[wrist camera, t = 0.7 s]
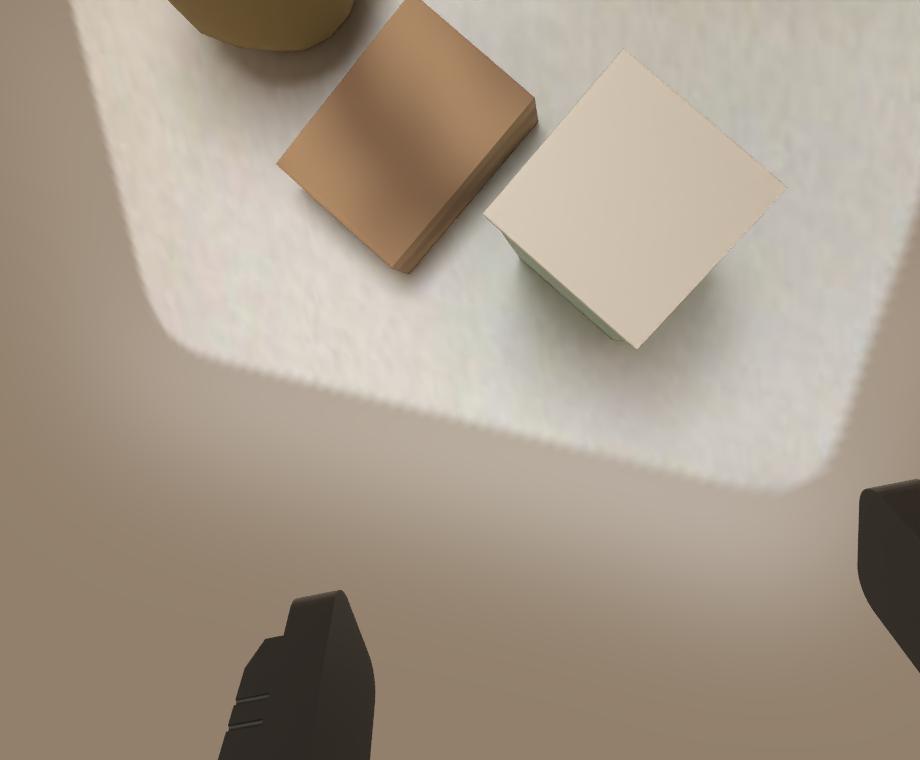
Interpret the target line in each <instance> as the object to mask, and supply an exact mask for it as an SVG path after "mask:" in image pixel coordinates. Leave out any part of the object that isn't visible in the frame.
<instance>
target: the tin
mask: <svg viewBox="0 0 920 760" xmlns="http://www.w3.org/2000/svg"><path fill="white" fill-rule="evenodd" d="M786 189H787V186H785V185H784V184H783V183H782V182H781V181H780V180H778V179H777V178H776V177H775V176H774V175H772V174H771V173H770V172H769V171H768V170H767V169H765V168H764V167H763V166H762V165H761V164H759V163H758V162H757V161H756V160H755V159H753V158H752V157H751V156H750V155H749V154H748V153H746V152H745V151H744V150H743V149H742V148H740V147H739V146H738V145H737V144H736V143H735V142H733V141H732V140H731V139H730V138H729V137H727V136H726V135H725V134H724V133H723V132H722V131H720V130H719V129H718V128H717V127H716V126H714V125H713V124H712V123H711V122H710V121H709V120H707V119H706V118H705V117H704V116H703V115H701V114H700V113H699V112H698V111H697V110H696V109H694V108H693V107H692V106H691V105H690V104H688V103H687V102H686V101H685V100H684V99H683V98H681V97H680V96H679V95H678V94H677V93H675V92H674V91H673V90H672V89H671V88H669V87H668V86H667V85H666V84H665V83H664V82H662V81H661V80H660V79H659V78H658V77H656V76H655V75H654V74H653V73H652V72H651V71H649V70H648V69H647V68H646V67H645V66H643V65H642V64H641V63H640V62H639V61H638V60H636V59H635V58H634V57H633V56H632V55H630V54H629V53H628V52H627V51H626V50H625V49H623V50H622V51H621V52H620V53H619V55H618V56H617V57H616V58H615V59H614V60H613V62H612V63H611V64H610V65H609V66H608V67H607V69H606V70H605V71H604V72H603V73H602V74H601V76H600V77H599V78H598V79H597V80H596V81H595V83H594V84H593V85H592V86H591V87H590V89H589V90H588V91H587V92H586V93H585V94H584V96H583V97H582V98H581V99H580V100H579V101H578V103H577V104H576V105H575V106H574V107H573V108H572V110H571V111H570V112H569V113H568V114H567V116H566V117H565V118H564V119H563V120H562V121H561V123H560V124H559V125H558V126H557V127H556V128H555V130H554V131H553V132H552V133H551V134H550V135H549V137H548V138H547V139H546V140H545V141H544V143H543V144H542V145H541V146H540V147H539V148H538V150H537V151H536V152H535V153H534V154H533V155H532V157H531V158H530V159H529V160H528V161H527V162H526V164H525V165H524V166H523V167H522V168H521V169H520V171H519V172H518V173H517V174H516V175H515V177H514V178H513V179H512V180H511V181H510V182H509V184H508V185H507V186H506V187H505V188H504V189H503V191H502V192H501V193H500V194H499V195H498V196H497V198H496V199H495V200H494V201H493V202H492V204H491V205H490V206H489V207H488V208H487V209H486V211H485V212H484V213H483V214H484V216H485V217H486V218H487V219H488V220H489V221H490V222H491V223H492V224H493V225H495V226H496V227H497V228H498V229H499V230H500V231H501V232H502V233H503V235H504V236H505V238H506V239H507V240H508V242H509V243H510V245H511V246H512V248H513V249H514V251H515V252H516V253H517V255H518V256H519V257H520V258H521V259H522V260H523V261H524V262H525V263H526V264H528V265H529V266H530V267H531V268H532V269H533V270H534V271H535V272H537V273H538V274H539V275H540V276H541V277H542V278H543V279H545V280H546V281H547V282H548V283H549V284H550V285H551V286H552V287H554V288H555V289H556V290H557V291H558V292H559V293H560V294H562V295H563V296H564V297H565V298H566V299H567V300H568V301H569V302H571V303H572V304H573V305H574V306H575V307H576V308H577V309H579V310H580V311H581V312H582V313H583V314H584V315H585V316H586V317H588V318H589V319H590V320H591V321H592V322H593V323H594V324H596V325H597V326H598V327H599V328H600V329H601V330H602V331H603V332H605V333H606V334H607V335H608V336H609V337H610V338H611V339H615V340H620V341H625V342H627V343H629V344H630V345H631V346H632V347H633V348H634V349H638V348H639V347H640V346H641V345H642V344H643V343H644V342H645V341H646V340H647V338H648V337H649V336H650V335H651V334H652V333H653V332H654V331H655V330H656V329H657V328H658V327H659V326H660V324H661V323H662V322H663V321H664V320H665V319H666V318H667V317H668V316H669V315H670V314H671V313H672V312H673V310H674V309H675V308H676V307H677V306H678V305H679V304H680V303H681V302H682V301H683V300H684V299H685V297H686V296H687V295H688V294H689V293H690V292H691V291H692V290H693V289H694V288H695V287H696V286H697V285H698V283H699V282H700V281H701V280H702V279H703V278H704V277H705V276H706V275H707V274H708V273H709V272H710V271H711V269H712V268H713V267H714V266H715V265H716V264H717V263H718V262H719V261H720V260H721V259H722V258H723V256H724V255H725V254H726V253H727V252H728V251H729V250H730V249H731V248H732V247H733V246H734V245H735V244H736V242H737V241H738V240H739V239H740V238H741V237H742V236H743V235H744V234H745V233H746V232H747V231H748V230H749V228H750V227H751V226H752V225H753V224H754V223H755V222H756V221H757V220H758V219H759V218H760V217H761V215H762V214H763V213H764V212H765V211H766V210H767V209H768V208H769V207H770V206H771V205H772V204H773V203H774V201H775V200H776V199H777V198H778V197H779V196H780V195H781V194H782V193H783V192H784V191H785V190H786Z"/></svg>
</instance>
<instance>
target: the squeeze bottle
mask: <svg viewBox="0 0 920 760" xmlns="http://www.w3.org/2000/svg"><path fill="white" fill-rule="evenodd" d="M168 1H169V2H170V3H171V4H172V5H173V6H174V7H175V8H176V9H177V10H178V11H179V12H180V13H181V14H182V15H183V16H184V17H185V18H186V19H187V20H188V21H189V22H190V23H191V24H192V25H193V26H194V27H195V28H196V29H197V30H199V31H200V32H201V33H202V34H205V35H207V36H210V37H213V38H216V39H218V40H221V41H224V42H226V43H229V44H232V45H234V46H237V47H242V48H251V49H260V50H269V51H278V52H283V51H297V50H307V49H309V48H311V47H312V46H314V45H316V44H318V43H320V42H322V41H324V40H326V39H328V38H330V37H331V36H332V35H333V34H334V32H335V31H336V30H337V29H338V28H339V27H340V25H341V24H342V23H343V22H344V21H345V19H346V18H347V17H348V16H349V14H350V12H351V9H352V6H353V3H354V0H168Z"/></svg>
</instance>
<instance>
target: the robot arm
mask: <svg viewBox="0 0 920 760" xmlns="http://www.w3.org/2000/svg"><path fill="white" fill-rule="evenodd" d="M857 565H858V575H859V580H860V584H861V587H862V590H863V592H864V595H865V597H866V599H867V601H868V603H869V605H870V606H871V608H872V609H873V611H874V612H875V613H876V615H877V616H878V618H879V619H880V620H881V621H882V623H883V624H884V626H885V627H886V628H887V630H888V631H889V632H890V634H891V635H892V636H893V637H894V639H895V640H896V642H897V643H898V644H899V646H900V647H901V648H902V650H903V651H904V652H905V654H906V655H907V656H908V658H909V659H910V660H911V662H912V663H913V664H914V666H915V667H916V668H917V670H918V671H919V672H920V480H919V479H914V480H909V481H904V482H899V483H894V484H889V485H883V486H878V487H873V488H868V489H865V490H863V491H862V493H861V496H860V501H859V531H858V564H857ZM374 706H375V681H374V673H373V668H372V663H371V660H370V656H369V654H368V651H367V648H366V646H365V643H364V641H363V638H362V635H361V633H360V630H359V628H358V625H357V622H356V620H355V617H354V614H353V612H352V609H351V607H350V604H349V602H348V599H347V597H346V595H345V593H344V592H343V591H342V590H337V591H332V592H327V593H322V594H317V595H312V596H307V597H302V598H297V599H295V600H294V601H293V602H292V605H291V607H290V612H289V615H288V620H287V624H286V628H285V632H284V636H278V637H273V638H268V639H265V640H264V642H263V643H262V645H261V646H260V647H259V649H258V650H257V652H256V653H255V654H254V656H253V657H252V659H251V660H250V662H249V663H248V665H247V666H246V667H245V669H244V673H243V676H242V679H241V683H240V686H239V690H238V693H237V696H236V705H234V707H233V710H232V714H231V717H230V720H229V724H228V726H229V731H228V732H226V734H225V737H224V741H223V744H222V748H221V751H220V755H219V758H218V760H370V751H371V741H372V729H373V718H374Z"/></svg>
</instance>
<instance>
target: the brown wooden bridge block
mask: <svg viewBox="0 0 920 760" xmlns="http://www.w3.org/2000/svg"><path fill="white" fill-rule="evenodd" d="M537 122H538V117H537V110H536V104H535V98H534V97H533V96H532V95H531V94H530V93H529V92H527V91H526V90H525V89H524V88H523V87H522V86H520V85H519V84H518V83H517V82H516V81H515V80H513V79H512V78H511V77H510V76H509V75H508V74H506V73H505V72H504V71H503V70H502V69H501V68H500V67H498V66H497V65H496V64H495V63H494V62H493V61H491V60H490V59H489V58H488V57H487V56H486V55H484V54H483V53H482V52H481V51H480V50H479V49H477V48H476V47H475V46H474V45H473V44H472V43H470V42H469V41H468V40H467V39H466V38H465V37H464V36H462V35H461V34H460V33H459V32H458V31H457V30H455V29H454V28H453V27H452V26H451V25H450V24H448V23H447V22H446V21H445V20H444V19H443V18H441V17H440V16H439V15H438V14H437V13H436V12H434V11H433V10H432V9H431V8H430V7H429V6H427V5H426V4H425V3H424V2H423V1H422V0H405V1H404V2H403V3H402V5H401V6H400V7H399V8H398V10H397V11H396V12H395V13H394V15H393V16H392V17H391V18H390V20H389V21H388V22H387V24H386V25H385V26H384V27H383V29H382V30H381V31H380V32H379V34H378V35H377V36H376V38H375V39H374V40H373V41H372V43H371V44H370V45H369V46H368V48H367V49H366V50H365V52H364V53H363V54H362V55H361V57H360V58H359V59H358V60H357V62H356V63H355V64H354V66H353V67H352V68H351V69H350V71H349V72H348V73H347V74H346V76H345V77H344V78H343V79H342V81H341V82H340V83H339V85H338V86H337V87H336V88H335V90H334V91H333V92H332V93H331V95H330V96H329V97H328V99H327V100H326V101H325V102H324V104H323V105H322V106H321V107H320V109H319V110H318V111H317V113H316V114H315V115H314V116H313V118H312V119H311V120H310V121H309V123H308V124H307V125H306V127H305V128H304V129H303V130H302V132H301V133H300V134H299V135H298V137H297V138H296V139H295V141H294V142H293V143H292V144H291V146H290V147H289V148H288V149H287V151H286V152H285V153H284V154H283V156H282V157H281V158H280V160H279V161H278V162H277V163H276V165H278V166H279V167H280V168H281V169H282V170H283V171H284V172H285V173H286V174H288V175H289V176H290V177H291V178H292V179H293V180H294V181H295V182H297V183H298V184H299V185H300V186H301V187H302V188H303V189H304V190H305V191H307V192H308V193H309V194H310V195H311V196H312V197H313V198H314V199H315V200H317V201H318V202H319V203H320V204H321V205H322V206H323V207H324V208H325V209H327V210H328V211H329V212H330V213H331V214H332V215H333V216H334V217H336V218H337V219H338V220H339V221H340V222H341V223H342V224H343V225H344V226H346V227H347V228H348V229H349V230H350V231H351V232H352V233H353V234H354V235H356V236H357V237H358V238H359V239H360V240H361V241H362V242H363V243H364V244H366V245H367V246H368V247H369V248H370V249H371V250H372V251H373V252H375V253H376V254H377V255H378V256H379V257H380V258H381V259H382V260H383V261H385V262H386V263H387V264H388V265H389V266H390V267H391V268H394V269H396V270H399V271H402V272H405V273H408V274H409V273H410V272H411V271H412V270H413V269H414V268H415V266H416V265H417V264H418V263H419V262H420V260H421V259H422V258H423V257H424V256H425V255H426V253H427V252H428V251H429V250H430V249H431V247H432V246H433V245H434V244H435V243H436V242H437V240H438V239H439V238H440V237H441V236H442V234H443V233H444V232H445V231H446V230H447V229H448V227H449V226H450V225H451V224H452V223H453V221H454V220H455V219H456V218H457V217H458V216H459V214H460V213H461V212H462V211H463V210H464V208H465V207H466V206H467V205H468V204H469V203H470V201H471V200H472V199H473V198H474V197H475V195H476V194H477V193H478V192H479V191H480V190H481V188H482V187H483V186H484V185H485V184H486V182H487V181H488V180H489V179H490V178H491V177H492V175H493V174H494V173H495V172H496V171H497V169H498V168H499V167H500V166H501V165H502V164H503V162H504V161H505V160H506V159H507V158H508V156H509V155H510V154H511V153H512V152H513V151H514V149H515V148H516V147H517V146H518V145H519V143H520V142H521V141H522V140H523V139H524V138H525V136H526V135H527V134H528V133H529V132H530V130H531V129H532V128H533V127H534V126H535V125H536V123H537Z"/></svg>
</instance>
